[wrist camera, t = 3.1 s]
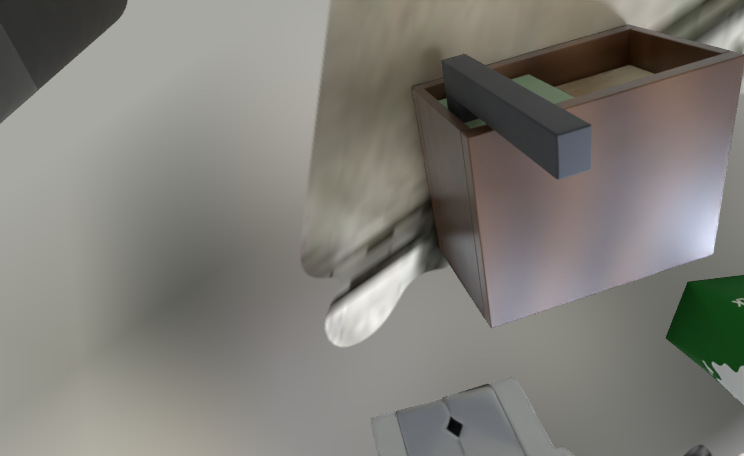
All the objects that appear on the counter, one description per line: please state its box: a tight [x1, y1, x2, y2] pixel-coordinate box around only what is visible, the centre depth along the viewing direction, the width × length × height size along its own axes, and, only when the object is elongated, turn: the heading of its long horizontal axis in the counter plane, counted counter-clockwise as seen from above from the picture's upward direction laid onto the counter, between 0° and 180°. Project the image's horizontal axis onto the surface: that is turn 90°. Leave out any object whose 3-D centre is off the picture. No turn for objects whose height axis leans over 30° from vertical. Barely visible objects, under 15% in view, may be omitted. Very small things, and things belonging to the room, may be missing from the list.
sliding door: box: [439, 54, 592, 180], centre depth 28 cm, size 7×4×16 cm, turn 102°
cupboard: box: [412, 25, 744, 328], centre depth 36 cm, size 16×14×10 cm
